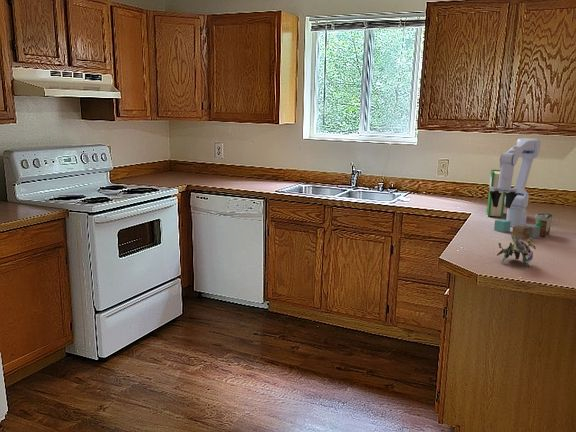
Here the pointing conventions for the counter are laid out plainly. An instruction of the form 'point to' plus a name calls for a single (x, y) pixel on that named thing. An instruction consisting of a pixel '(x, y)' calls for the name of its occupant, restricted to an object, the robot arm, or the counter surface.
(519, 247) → the passion flower
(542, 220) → the food container
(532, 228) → the slate-grey block
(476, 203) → the counter surface
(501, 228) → the teal block
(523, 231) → the brass block
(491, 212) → the hardback book
